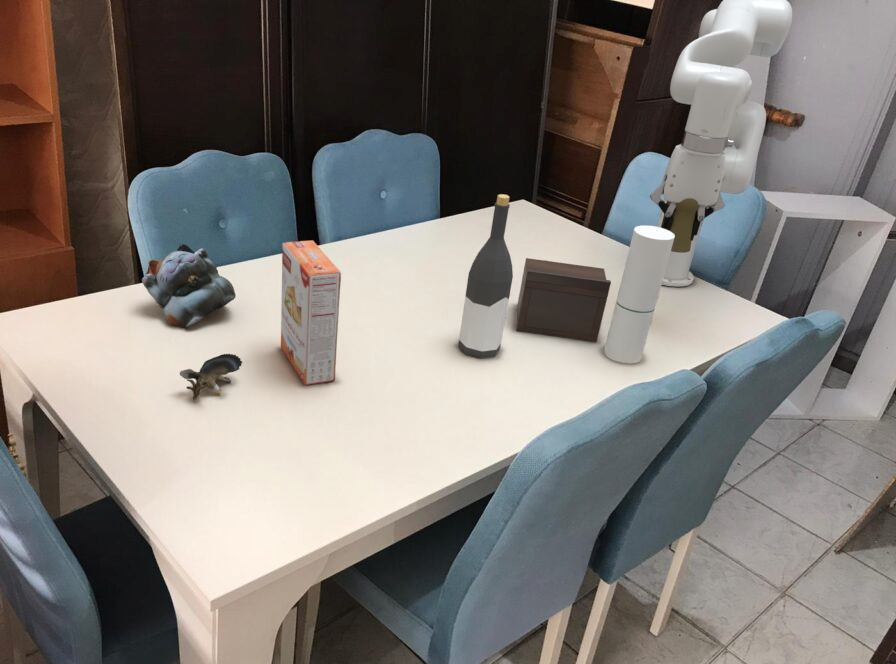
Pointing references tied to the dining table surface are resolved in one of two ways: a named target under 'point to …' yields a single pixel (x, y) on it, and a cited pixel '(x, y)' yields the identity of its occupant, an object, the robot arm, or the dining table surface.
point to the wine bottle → (488, 291)
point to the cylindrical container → (638, 293)
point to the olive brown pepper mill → (683, 224)
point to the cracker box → (309, 311)
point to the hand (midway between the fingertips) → (677, 235)
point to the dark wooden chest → (562, 300)
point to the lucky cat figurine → (187, 286)
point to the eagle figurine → (212, 373)
